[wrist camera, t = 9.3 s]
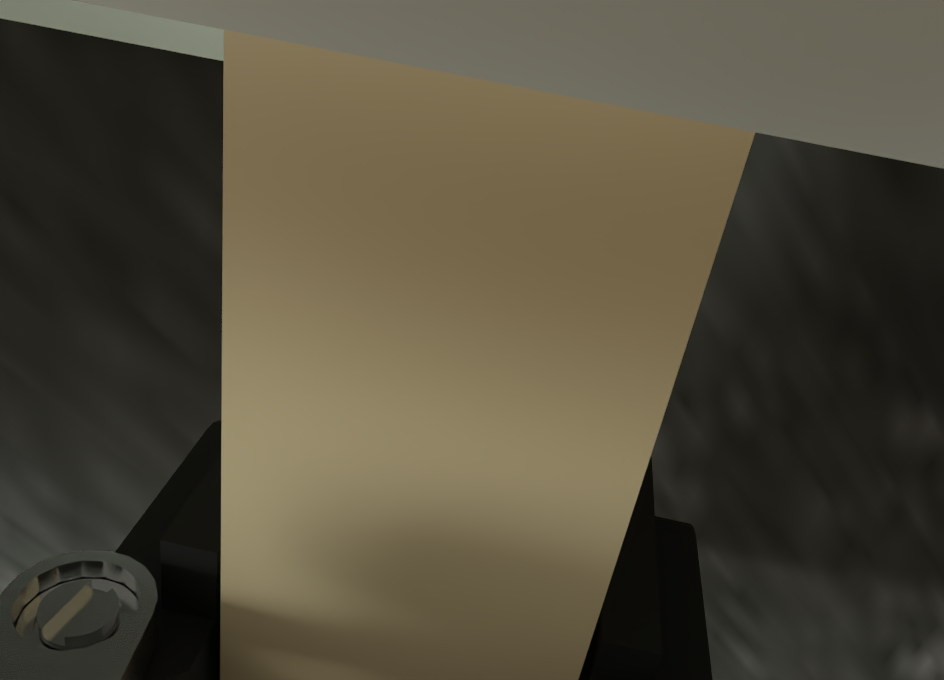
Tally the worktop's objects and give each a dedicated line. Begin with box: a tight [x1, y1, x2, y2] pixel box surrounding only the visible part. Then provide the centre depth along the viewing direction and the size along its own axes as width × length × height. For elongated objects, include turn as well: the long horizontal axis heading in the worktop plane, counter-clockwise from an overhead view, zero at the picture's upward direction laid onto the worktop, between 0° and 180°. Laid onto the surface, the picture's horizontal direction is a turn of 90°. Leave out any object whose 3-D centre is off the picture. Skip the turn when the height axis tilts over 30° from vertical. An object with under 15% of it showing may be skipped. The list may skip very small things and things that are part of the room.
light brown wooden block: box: [73, 0, 944, 680], centre depth 11 cm, size 15×7×6 cm, turn 171°
